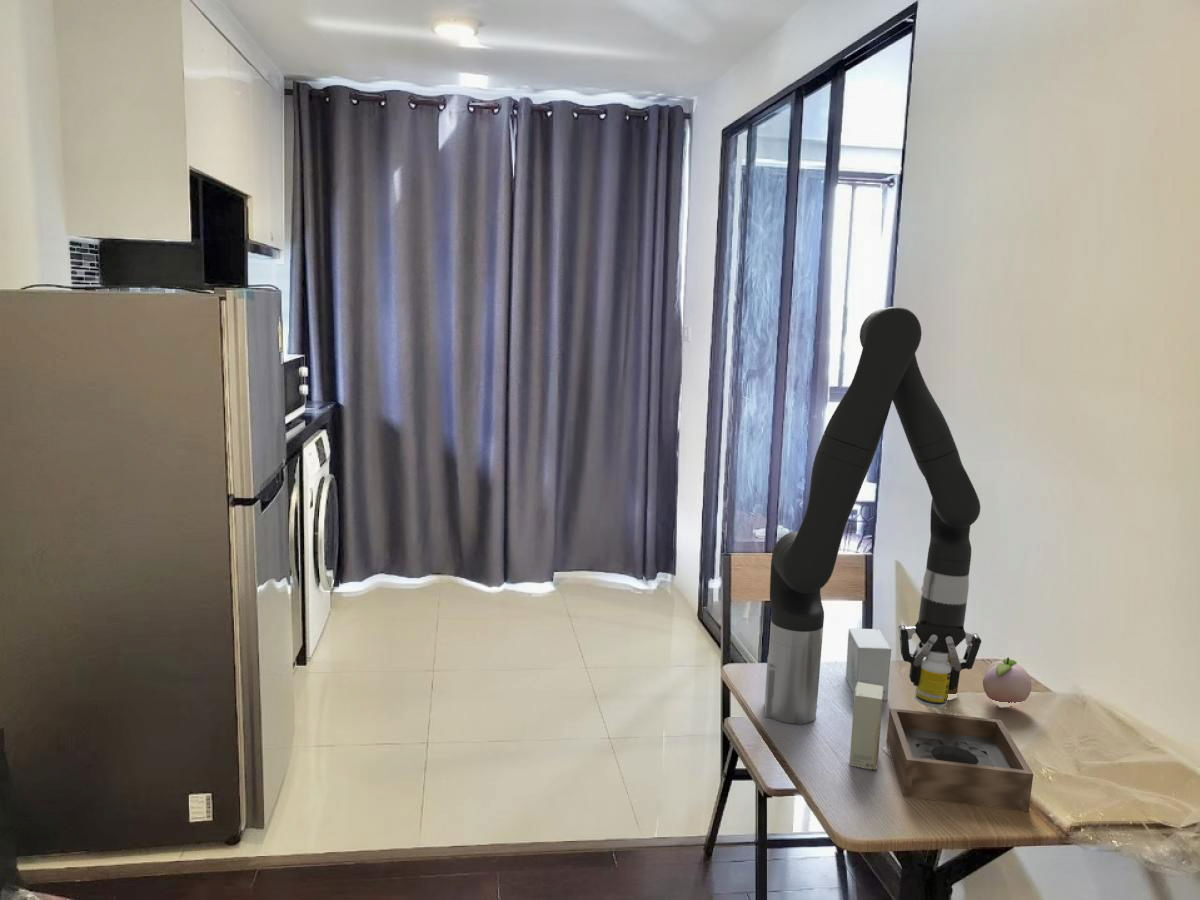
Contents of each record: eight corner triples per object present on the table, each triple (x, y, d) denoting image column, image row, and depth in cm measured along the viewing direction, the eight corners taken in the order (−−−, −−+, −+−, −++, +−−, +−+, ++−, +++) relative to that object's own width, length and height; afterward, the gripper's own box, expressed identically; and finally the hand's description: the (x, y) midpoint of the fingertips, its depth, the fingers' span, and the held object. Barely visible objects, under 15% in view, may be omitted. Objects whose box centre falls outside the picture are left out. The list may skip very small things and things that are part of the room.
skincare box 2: (876, 771, 144) (882, 700, 142) (847, 766, 145) (853, 695, 143) (878, 754, 150) (885, 685, 148) (851, 748, 151) (857, 680, 149)
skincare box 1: (843, 676, 181) (847, 626, 179) (876, 678, 181) (880, 628, 179) (853, 698, 171) (858, 646, 169) (888, 701, 170) (893, 648, 169)
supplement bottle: (949, 710, 157) (956, 657, 156) (916, 706, 158) (923, 653, 157) (944, 698, 163) (950, 646, 161) (912, 693, 164) (919, 642, 162)
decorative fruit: (1026, 723, 163) (1032, 671, 161) (977, 712, 167) (983, 661, 165) (1030, 704, 171) (1036, 654, 169) (983, 694, 175) (989, 645, 173)
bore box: (903, 796, 137) (906, 759, 136) (886, 741, 154) (889, 708, 153) (1028, 811, 134) (1033, 774, 133) (997, 753, 151) (1000, 719, 150)
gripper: (904, 597, 155) (894, 689, 158) (992, 607, 152) (980, 700, 155) (898, 584, 162) (888, 673, 165) (982, 593, 160) (970, 683, 162)
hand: (933, 686), depth 160 cm, fingers closed on supplement bottle, 5 cm apart
